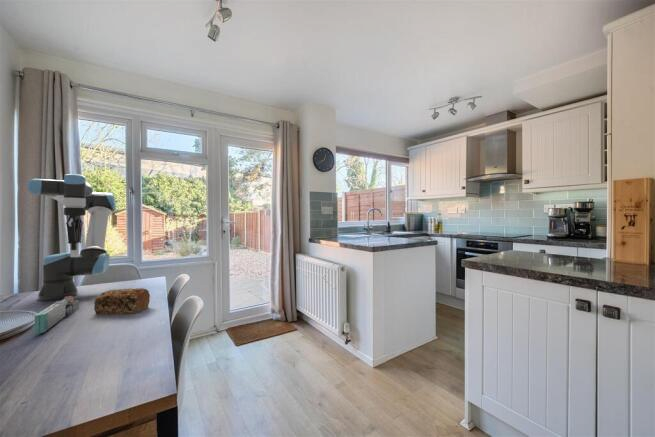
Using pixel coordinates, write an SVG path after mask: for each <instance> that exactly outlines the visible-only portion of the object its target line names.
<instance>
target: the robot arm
mask: <svg viewBox="0 0 655 437" xmlns="http://www.w3.org/2000/svg"><path fill="white" fill-rule="evenodd" d="M86 178H87V177H86V176H85V175H81V174H75V173H73V174H72V173H71V174H69V173H67V174H64V177H63V180H61V179H58V180H57V179H48V178H47V179H45V178H43V179H42V178H31V179H29V181H28V184H27V188H28V192H29V193H30V194H31V195H37V196H46V197H48V198H51V199H53V200H55V201H58V202H59V203H60V204H61V205H62V206H64V207H63V215H64V216H68V219H67V221H66V223H65V225H66V230H67V244H70V248H69V250H70V252H69V251H68V252H63V253H62V252H61V253H55V254H51V255H47V256H45V257H44V258H43V260H42V285H41V287H40V290H39V292H38V295H37V300H38V301H41V302H42V301H43V302H44V301H58V300H61V299H62V300H63V299H64V297H69V296H73V297H74V296H76V295H78V292H79V291H78V288H77V286H76V283H75V281H74V277H77V276H92V275H93V276H96V275H101V274H104V273H106V271H107V270H108V268H109V265H110V259H111V258H110V254H109V253H108V252H107V250H106V249H105V244H106V237H107V236H106V235H107V231H108V230H107V229H108V222H109V221H108V220H109V216H111V215H112V214H113V212H116V211H117V205H116V204H117V203H116V199H115V195H114V193H112V192H105V191H104V192H100V191H99V192H95V191H94V187H93V186H92V185H91V184H90V183H88V182H87V179H86ZM86 212H88V213H89V214H90V215H89V221H88V225H87V231H86V232H87V233H86V238H85V242H84V243H85V245H84V248H82V249H81V250H80V243H82V241H81V240H82V232H83V231H82V230H83V224H84V222H83V221H82V218H81V216H86Z"/></svg>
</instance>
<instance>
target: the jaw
mask: <svg viewBox="0 0 655 437" xmlns="http://www.w3.org/2000/svg"><path fill="white" fill-rule="evenodd" d="M60 301H61V302H59V303H58V304H56V305H55V306H53V307H52V308H50V309H48V310H47V311H45V312H44V313H42V314H41V315H40V333H42V334H43V333H46V332H47V331H48V330H49V329H50V328H52V327H53V326H54V325H56V324H57V323H58V322H59V321H61V320H62V319H64V318H63V317H65V316H66V307H69V306H71V298H63V299H62V300H60Z"/></svg>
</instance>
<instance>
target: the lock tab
mask: <svg viewBox="0 0 655 437" xmlns="http://www.w3.org/2000/svg"><path fill="white" fill-rule="evenodd" d="M64 298H71V303H72V302H74V299H75V298H74V296H69V297H64ZM64 298H63V299H64Z"/></svg>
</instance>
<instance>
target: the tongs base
mask: <svg viewBox="0 0 655 437" xmlns="http://www.w3.org/2000/svg"><path fill="white" fill-rule="evenodd" d="M61 301H62V300H56V301H55V302H54V303H53V304H51V305H49V306H48V307H46V308H44V309H43V310H41V311H40V312H38V313H37V314H36V315H34V337H35V336H36V337H37V336H40V335H42V334H43V333H40V315H41V314H42V313H44V312H45V311H47V310H48V309H50V308H52V307H53V306H55V305H56V304H58V303H59V302H61ZM79 308H80V300H79V299H76V300H74V302H72V303H71V306H69V307H66V316H65V317H63V318H62V319H68V318H69V317H71V316H72V315H73V314H74V313H75V312H76V311H78V310H79Z"/></svg>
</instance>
